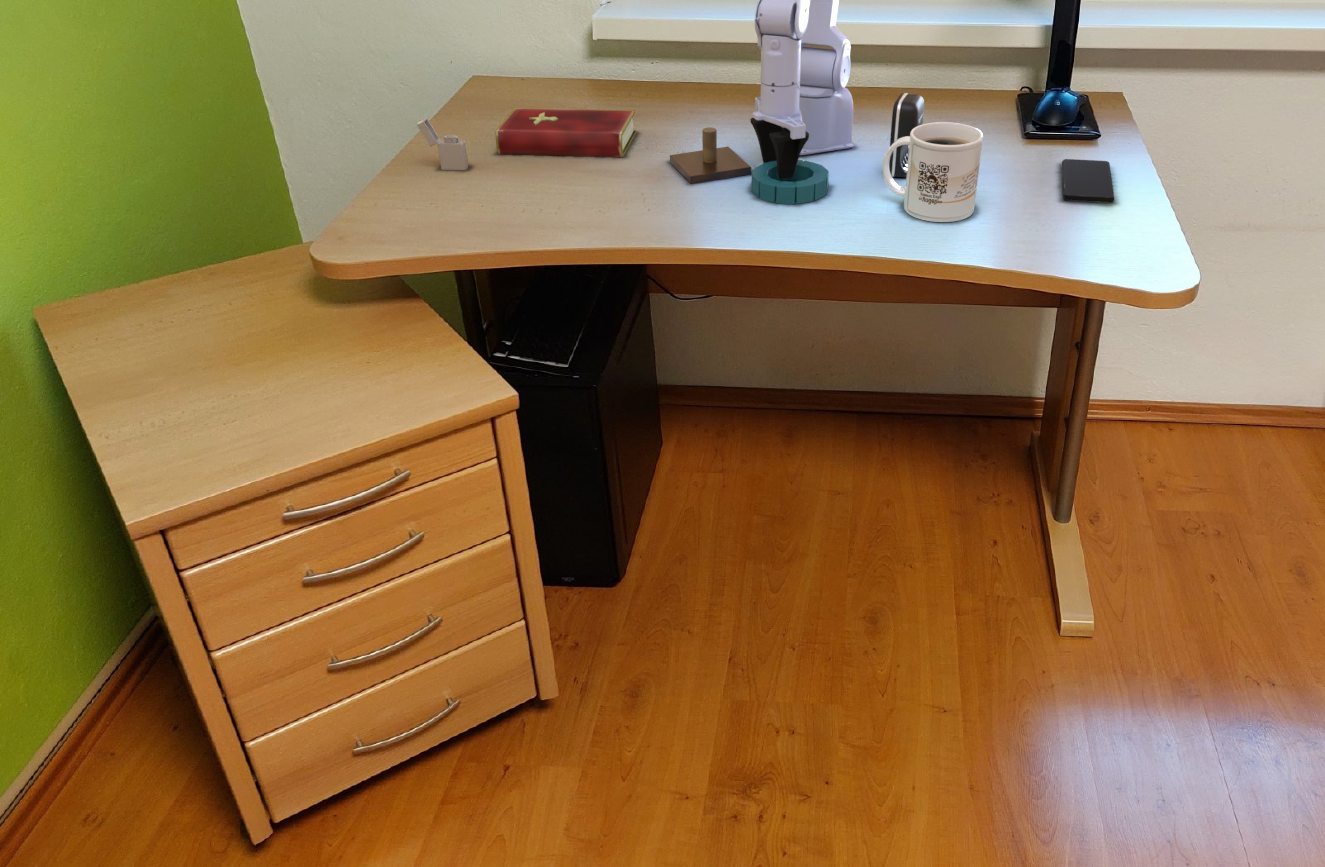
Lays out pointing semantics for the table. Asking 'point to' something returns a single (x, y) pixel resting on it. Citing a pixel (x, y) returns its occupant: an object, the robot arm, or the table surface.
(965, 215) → the mug
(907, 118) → the battery charger
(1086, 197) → the smartphone
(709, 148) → the stand
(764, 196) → the ring
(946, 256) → the table surface
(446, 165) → the lighter
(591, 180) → the table surface
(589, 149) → the hardcover book
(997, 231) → the table surface
